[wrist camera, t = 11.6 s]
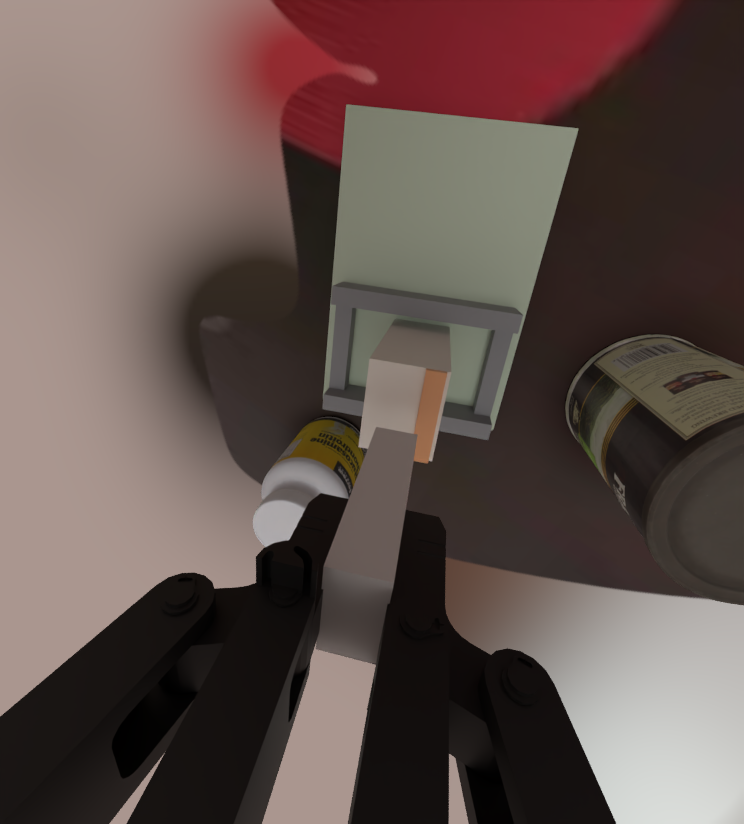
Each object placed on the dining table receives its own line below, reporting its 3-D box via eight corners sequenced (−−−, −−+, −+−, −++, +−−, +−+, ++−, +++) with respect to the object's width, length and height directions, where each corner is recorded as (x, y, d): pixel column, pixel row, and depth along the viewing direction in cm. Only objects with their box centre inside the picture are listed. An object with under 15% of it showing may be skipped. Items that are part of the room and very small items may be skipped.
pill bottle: (380, 464, 36) (353, 557, 25) (320, 485, 38) (272, 578, 27) (347, 402, 34) (303, 475, 24) (286, 428, 36) (220, 505, 26)
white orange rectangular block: (395, 318, 29) (368, 360, 19) (449, 326, 29) (451, 374, 19) (386, 381, 31) (357, 449, 21) (436, 390, 31) (431, 464, 21)
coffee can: (622, 483, 33) (734, 638, 20) (536, 401, 31) (598, 513, 18) (750, 400, 29) (996, 530, 16) (658, 301, 27) (847, 356, 14)
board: (350, 109, 26) (333, 87, 22) (572, 133, 24) (596, 113, 20) (326, 393, 34) (311, 413, 30) (491, 423, 33) (497, 448, 29)
